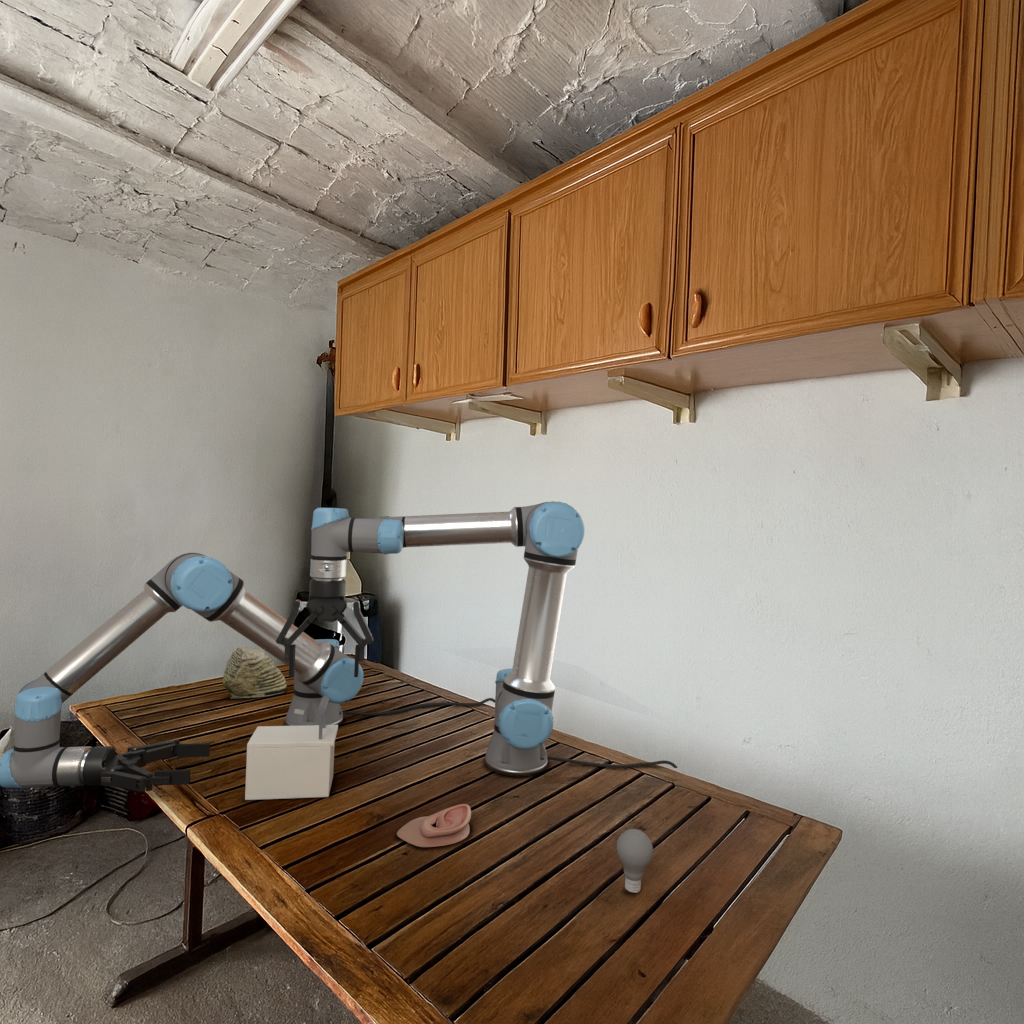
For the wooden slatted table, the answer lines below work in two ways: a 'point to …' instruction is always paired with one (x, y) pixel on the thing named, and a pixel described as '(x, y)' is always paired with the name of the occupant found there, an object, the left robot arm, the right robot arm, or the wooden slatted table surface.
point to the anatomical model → (438, 827)
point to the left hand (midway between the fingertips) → (200, 762)
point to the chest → (289, 772)
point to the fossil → (252, 674)
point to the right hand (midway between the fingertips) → (324, 675)
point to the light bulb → (634, 857)
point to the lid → (296, 733)
